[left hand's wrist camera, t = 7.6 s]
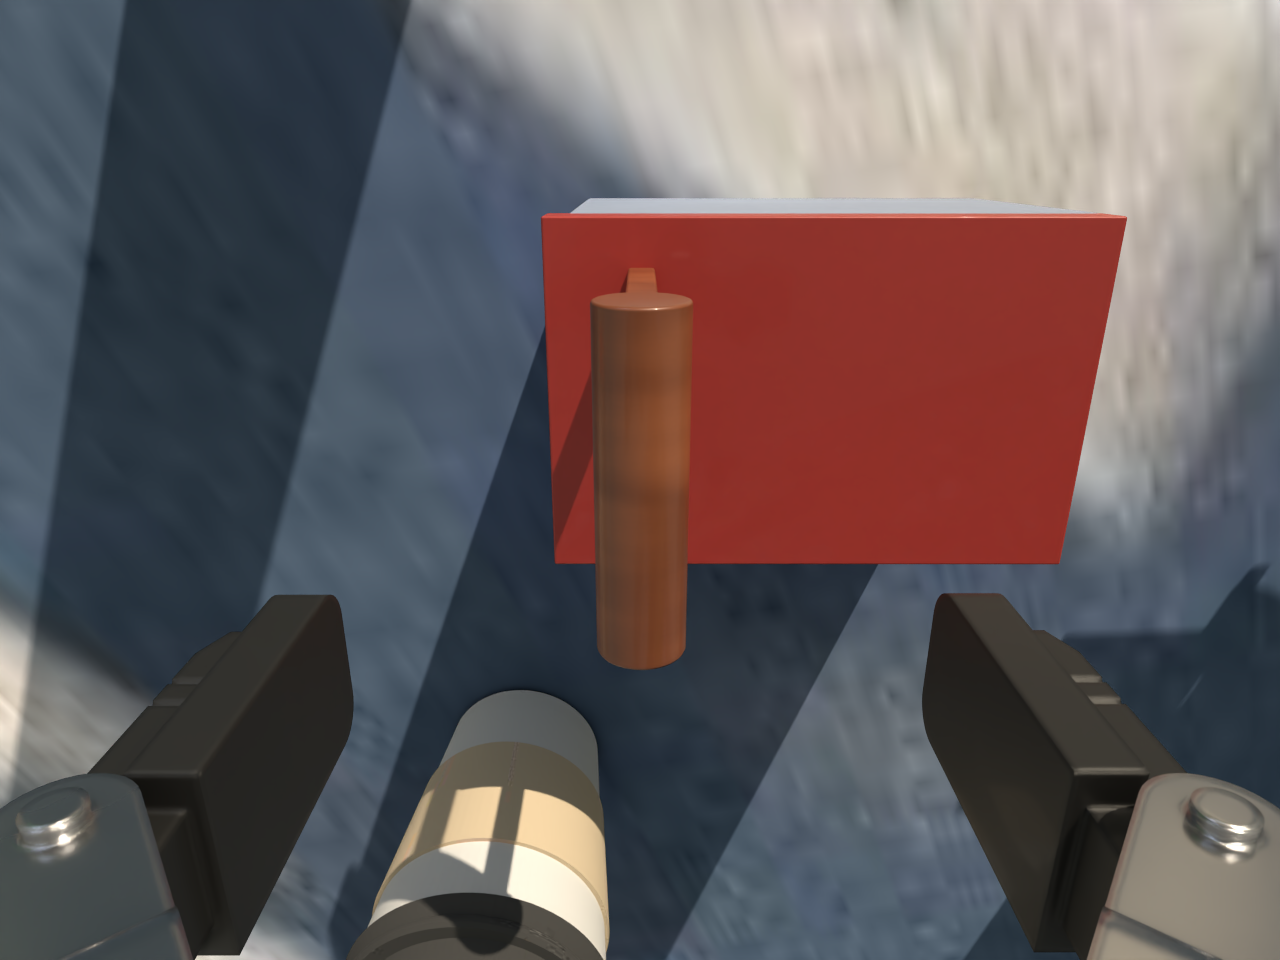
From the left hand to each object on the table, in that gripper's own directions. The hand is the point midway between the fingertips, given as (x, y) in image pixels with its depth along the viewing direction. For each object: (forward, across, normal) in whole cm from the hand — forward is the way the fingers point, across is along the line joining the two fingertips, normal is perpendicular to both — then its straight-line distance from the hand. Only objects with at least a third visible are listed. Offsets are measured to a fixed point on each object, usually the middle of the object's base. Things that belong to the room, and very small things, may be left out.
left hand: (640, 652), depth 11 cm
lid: (+14, +5, 0) cm, 15 cm away
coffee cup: (+23, -5, -20) cm, 31 cm away
